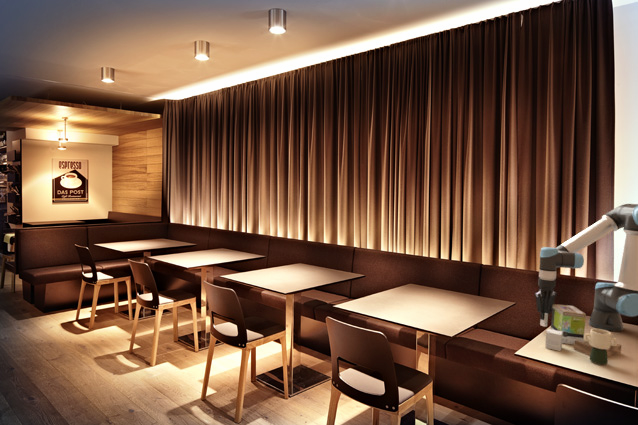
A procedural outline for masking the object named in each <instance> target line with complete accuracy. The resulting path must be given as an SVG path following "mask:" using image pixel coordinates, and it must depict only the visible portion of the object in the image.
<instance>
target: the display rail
mask: <svg viewBox="0 0 638 425" xmlns="http://www.w3.org/2000/svg"><path fill="white" fill-rule="evenodd" d="M573 345H574V346H573V347H574V348H573V350H574V351H576V352H579V353H582V354H584V355H587V356H589V357H590V354H591V350H592V348H593V346H591V345H590V343H585V342H584V341H583V342H580V341H577V340H576V341H575V344H573ZM622 346H623V345H622V344H619V343H616V346H610V348H609V349H606V350H607V356H608V357H610V356H612V357H613V356H618V355H621V354H622Z"/></svg>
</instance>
